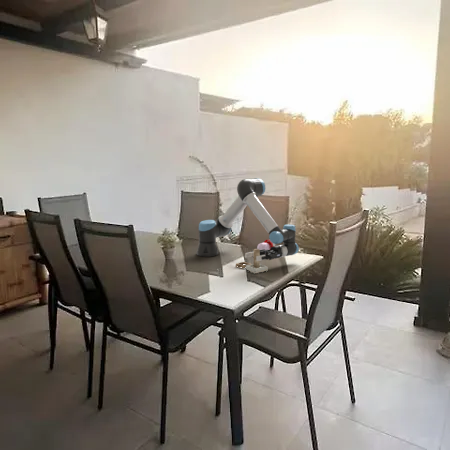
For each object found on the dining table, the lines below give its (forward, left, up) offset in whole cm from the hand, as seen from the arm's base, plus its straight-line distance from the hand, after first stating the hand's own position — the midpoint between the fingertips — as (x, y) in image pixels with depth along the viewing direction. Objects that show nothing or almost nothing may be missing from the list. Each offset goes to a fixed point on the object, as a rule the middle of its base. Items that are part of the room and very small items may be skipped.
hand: (251, 257), depth 227 cm
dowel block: (-12, +4, -9) cm, 15 cm away
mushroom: (-27, +32, -4) cm, 42 cm away
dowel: (0, +4, -8) cm, 9 cm away
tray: (0, +4, -9) cm, 10 cm away
